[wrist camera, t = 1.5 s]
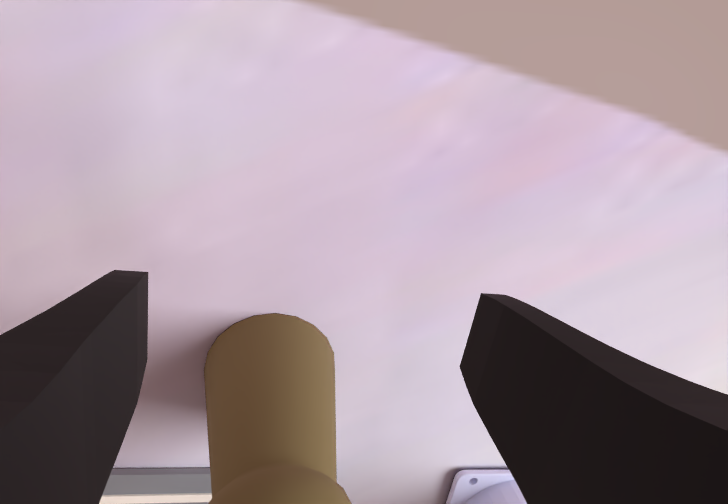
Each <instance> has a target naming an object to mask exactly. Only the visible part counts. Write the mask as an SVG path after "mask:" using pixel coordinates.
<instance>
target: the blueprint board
mask: <svg viewBox="0 0 728 504" xmlns="http://www.w3.org/2000/svg"><path fill="white" fill-rule="evenodd" d="M211 499H212V490H211V474H210V468H112V471H111V473H110V476H109V479H108V481H107V484H106V487H105V489H104V492H103V494H102V497H101V500H100V502H99V504H208V503H209V502H210V501H211Z"/></svg>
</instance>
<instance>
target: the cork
mask: <svg viewBox="0 0 728 504" xmlns="http://www.w3.org/2000/svg"><path fill="white" fill-rule="evenodd" d="M204 378H205V394H206V410H207V426H208V442H209V458H210V474H211V490H212V499H211V501H210V502H209V503H208V504H351V502H350V500H349V498H348V496H347V495H346V493H345V491H344V489H343V488H342V487H341V486H340V485H339V484H337V481H336V418H335V365H334V352H333V350H332V348H331V346H330V344H329V341H328V339H327V337H325V336H324V335H323V334H322V333H321V332H320V331H319V330H318V329H317V328H316V327H315V326H314V325H313V324H311V323H309V322H306V321H304V320H302V319H300V318H298V317H296V316H290V315H283V314H277V313H273V314H264V315H256V316H252V317H250V318H247V319H245V320H242V321H240V322H237V323H235V324H233V325H232V326H231V327H229V328H228V329H227V330H226V331H224V332H223V333H222V334H221V335H219V336H218V337H217V339H216V341H215V342H214V344H213V345H212V347H211V348H210V350H209V351H208V354H207V358H206V363H205V367H204Z"/></svg>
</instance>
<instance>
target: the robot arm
mask: <svg viewBox="0 0 728 504" xmlns="http://www.w3.org/2000/svg"><path fill="white" fill-rule="evenodd" d="M147 332H148V272H138V271H122V270H114V271H112V272H110V273H108V274H106V275H104V276H103V277H101V278H99V279H98V280H96V281H94V282H93V283H91V284H90V285H88V286H86V287H85V288H83V289H82V290H80V291H78V292H77V293H75V294H73V295H72V296H70V297H68V298H67V299H65V300H63V301H62V302H60V303H58V304H57V305H55V306H53V307H52V308H50V309H48V310H46V311H45V312H43V313H41V314H39V315H37V316H35V317H33V318H32V319H30V320H28V321H26V322H24V323H22V324H20V325H18V326H17V327H15V328H13V329H11V330H9V331H7V332H5V333H3V334H2V335H0V504H99V502H100V500H101V497H102V494H103V492H104V489H105V487H106V484H107V481H108V479H109V476H110V473H111V471H112V468H113V466H114V463H115V460H116V458H117V455H118V453H119V450H120V447H121V445H122V442H123V439H124V437H125V434H126V432H127V429H128V426H129V424H130V421H131V418H132V416H133V413H134V410H135V407H136V405H137V401H138V397H139V393H140V389H141V385H142V380H143V376H144V371H145V367H146V363H147ZM460 369H461V372H462V375H463V378H464V381H465V384H466V386H467V389H468V392H469V394H470V397H471V399H472V402H473V404H474V406H475V408H476V410H477V412H478V414H479V416H480V418H481V420H482V421H483V423H484V425H485V427H486V429H487V431H488V433H489V434H490V436H491V438H492V440H493V442H494V443H495V445H496V447H497V449H498V451H499V452H500V454H501V456H502V458H503V460H504V461H505V463H506V465H507V467H508V469H509V470H461V471H459V472H458V473H457V474H456V475H455V477H454V480H453V483H452V486H451V490H450V493H449V496H448V499H447V502H446V504H728V395H727V394H724V393H721V392H718V391H715V390H712V389H709V388H707V387H704V386H701V385H698V384H696V383H693V382H690V381H688V380H685V379H683V378H680V377H678V376H676V375H673V374H671V373H668V372H666V371H663V370H661V369H658V368H656V367H654V366H651V365H649V364H647V363H644V362H642V361H640V360H638V359H636V358H634V357H631V356H629V355H627V354H625V353H623V352H621V351H619V350H617V349H615V348H613V347H610V346H608V345H606V344H604V343H602V342H600V341H598V340H597V339H595V338H593V337H591V336H589V335H587V334H585V333H583V332H581V331H579V330H577V329H575V328H573V327H571V326H570V325H568V324H566V323H564V322H562V321H560V320H558V319H556V318H554V317H552V316H550V315H549V314H547V313H545V312H543V311H541V310H539V309H537V308H535V307H533V306H531V305H529V304H527V303H524V302H522V301H520V300H518V299H515V298H513V297H510V296H507V295H499V294H484V293H481V296H480V299H479V302H478V306H477V309H476V313H475V316H474V320H473V323H472V326H471V330H470V333H469V337H468V340H467V344H466V347H465V350H464V354H463V357H462V361H461V364H460Z"/></svg>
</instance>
